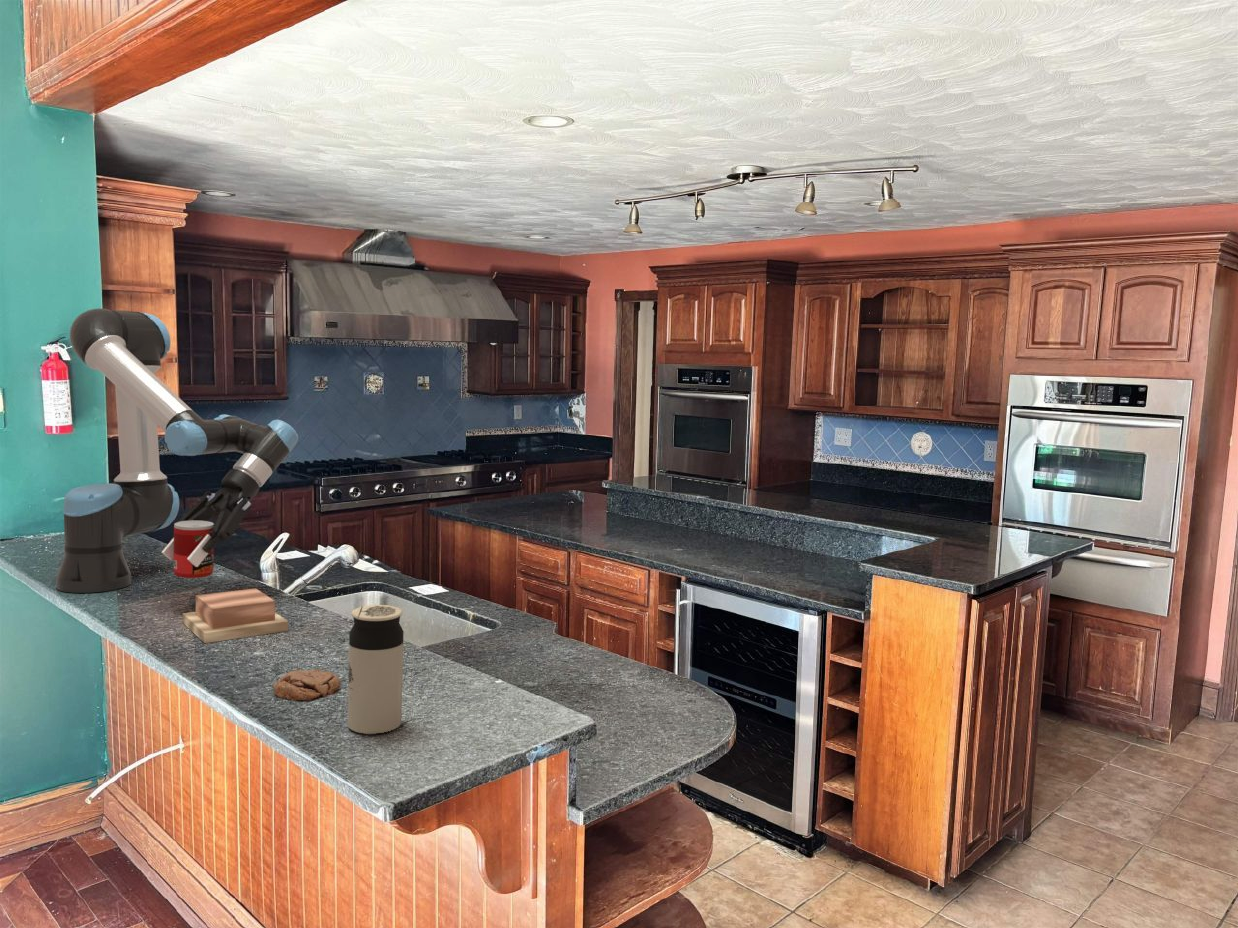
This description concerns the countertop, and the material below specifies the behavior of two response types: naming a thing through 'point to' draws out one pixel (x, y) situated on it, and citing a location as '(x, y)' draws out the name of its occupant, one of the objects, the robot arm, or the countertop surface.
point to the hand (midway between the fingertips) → (179, 559)
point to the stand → (234, 616)
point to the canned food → (191, 548)
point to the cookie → (306, 685)
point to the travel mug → (375, 669)
